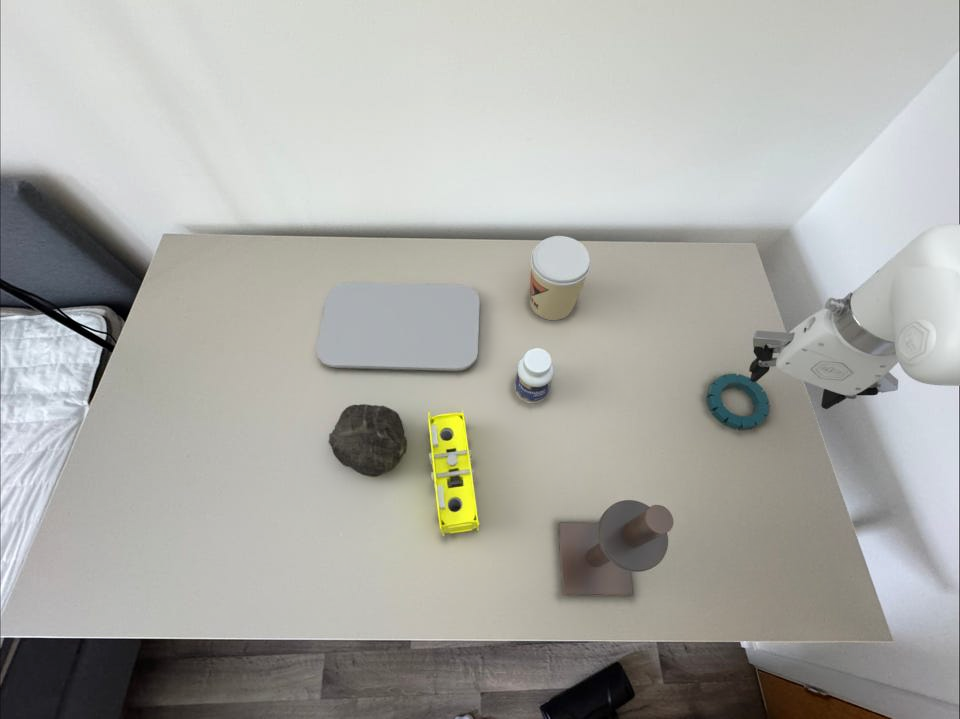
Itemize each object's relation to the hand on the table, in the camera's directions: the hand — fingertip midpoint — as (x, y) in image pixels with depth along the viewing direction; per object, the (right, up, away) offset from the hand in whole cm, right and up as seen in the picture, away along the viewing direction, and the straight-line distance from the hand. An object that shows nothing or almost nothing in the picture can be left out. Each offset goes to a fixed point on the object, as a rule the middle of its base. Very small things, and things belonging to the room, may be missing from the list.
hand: (788, 386), depth 70 cm
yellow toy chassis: (-47, -14, +3) cm, 49 cm away
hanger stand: (-28, -23, -2) cm, 36 cm away
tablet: (-57, +9, +15) cm, 59 cm away
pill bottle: (-35, -1, +10) cm, 36 cm away
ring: (-3, -3, +8) cm, 9 cm away
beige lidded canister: (-31, +14, +17) cm, 38 cm away
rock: (-59, -10, +5) cm, 60 cm away
